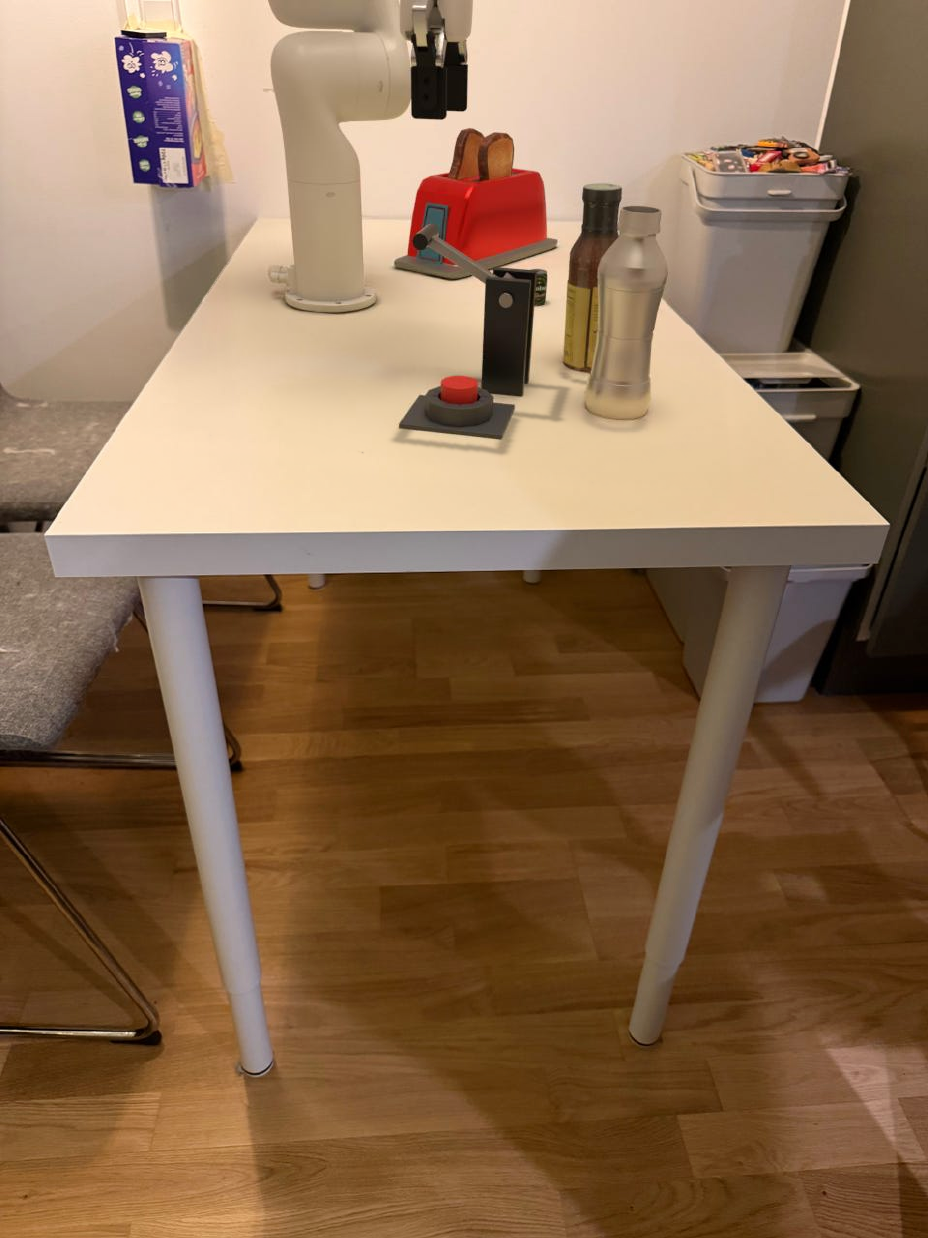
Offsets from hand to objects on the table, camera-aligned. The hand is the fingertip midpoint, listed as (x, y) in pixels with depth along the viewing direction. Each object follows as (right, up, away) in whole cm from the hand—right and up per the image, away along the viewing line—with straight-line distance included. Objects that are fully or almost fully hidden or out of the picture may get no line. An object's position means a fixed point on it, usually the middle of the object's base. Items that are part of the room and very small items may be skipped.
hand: (440, 114), depth 84 cm
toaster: (+5, +13, +64) cm, 66 cm away
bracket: (+7, -24, +11) cm, 28 cm away
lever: (+2, -14, +5) cm, 15 cm away
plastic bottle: (+18, -28, +7) cm, 34 cm away
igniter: (+2, -29, +3) cm, 30 cm away
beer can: (+13, -3, +42) cm, 44 cm away
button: (+2, -27, +2) cm, 27 cm away
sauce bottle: (+17, -20, +18) cm, 32 cm away
